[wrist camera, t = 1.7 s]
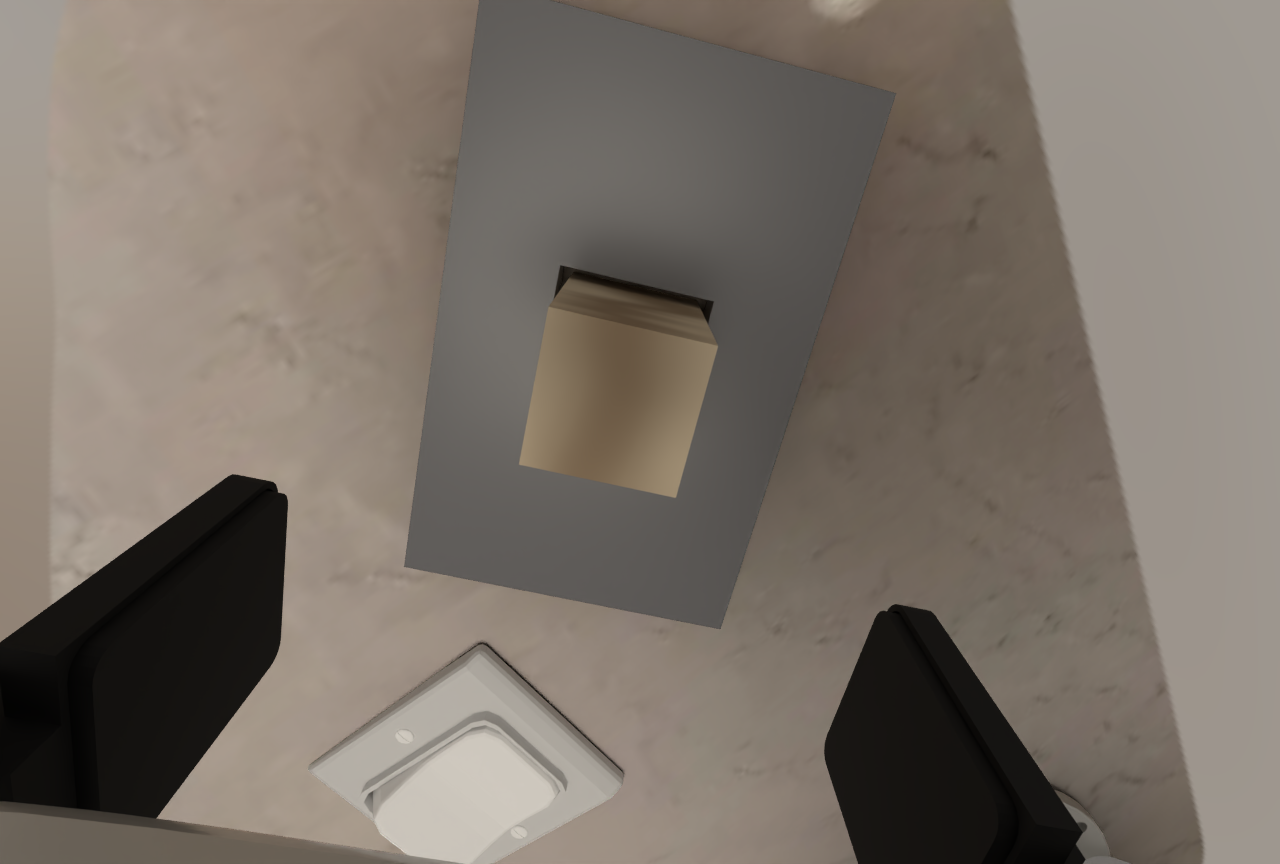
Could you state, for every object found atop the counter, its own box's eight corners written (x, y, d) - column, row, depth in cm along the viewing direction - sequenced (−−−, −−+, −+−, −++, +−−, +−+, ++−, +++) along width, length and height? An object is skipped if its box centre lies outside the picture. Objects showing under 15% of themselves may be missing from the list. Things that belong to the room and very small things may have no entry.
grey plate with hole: (876, 99, 25) (896, 93, 23) (715, 603, 32) (720, 629, 30) (494, -3, 24) (481, -19, 22) (418, 543, 31) (404, 566, 29)
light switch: (275, 817, 33) (462, 694, 30) (316, 748, 37) (486, 632, 33) (434, 935, 36) (621, 836, 33) (457, 859, 40) (626, 764, 36)
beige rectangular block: (696, 300, 27) (717, 346, 20) (666, 415, 29) (675, 498, 21) (573, 271, 27) (548, 306, 19) (550, 389, 29) (518, 464, 21)
